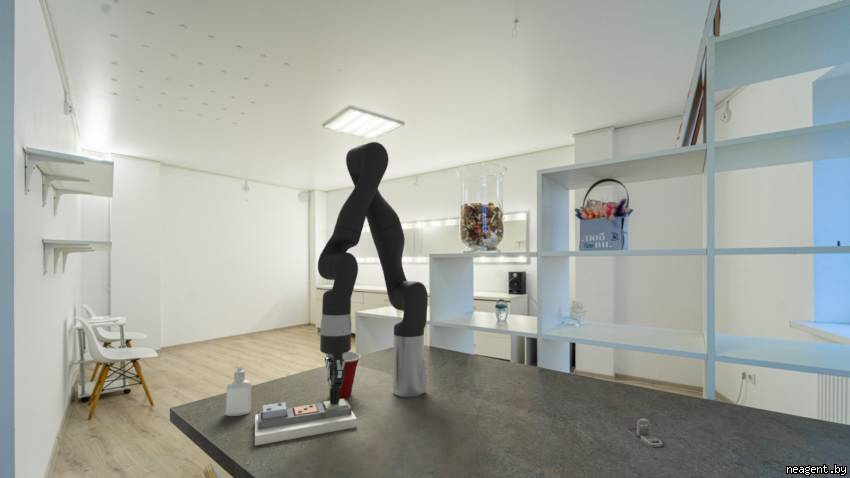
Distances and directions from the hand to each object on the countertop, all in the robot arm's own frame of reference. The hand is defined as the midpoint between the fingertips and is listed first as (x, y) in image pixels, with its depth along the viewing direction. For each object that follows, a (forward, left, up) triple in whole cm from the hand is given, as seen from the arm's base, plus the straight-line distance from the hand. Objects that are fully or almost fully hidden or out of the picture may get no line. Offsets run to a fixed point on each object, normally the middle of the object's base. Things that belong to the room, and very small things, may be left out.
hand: (334, 402), depth 92 cm
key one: (0, 0, -2) cm, 2 cm away
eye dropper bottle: (+22, -14, -5) cm, 26 cm away
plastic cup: (-5, -16, -5) cm, 17 cm away
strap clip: (-62, +37, -5) cm, 73 cm away
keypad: (+7, 0, -4) cm, 8 cm away
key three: (+7, 0, -2) cm, 7 cm away
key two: (+14, 0, 0) cm, 14 cm away
